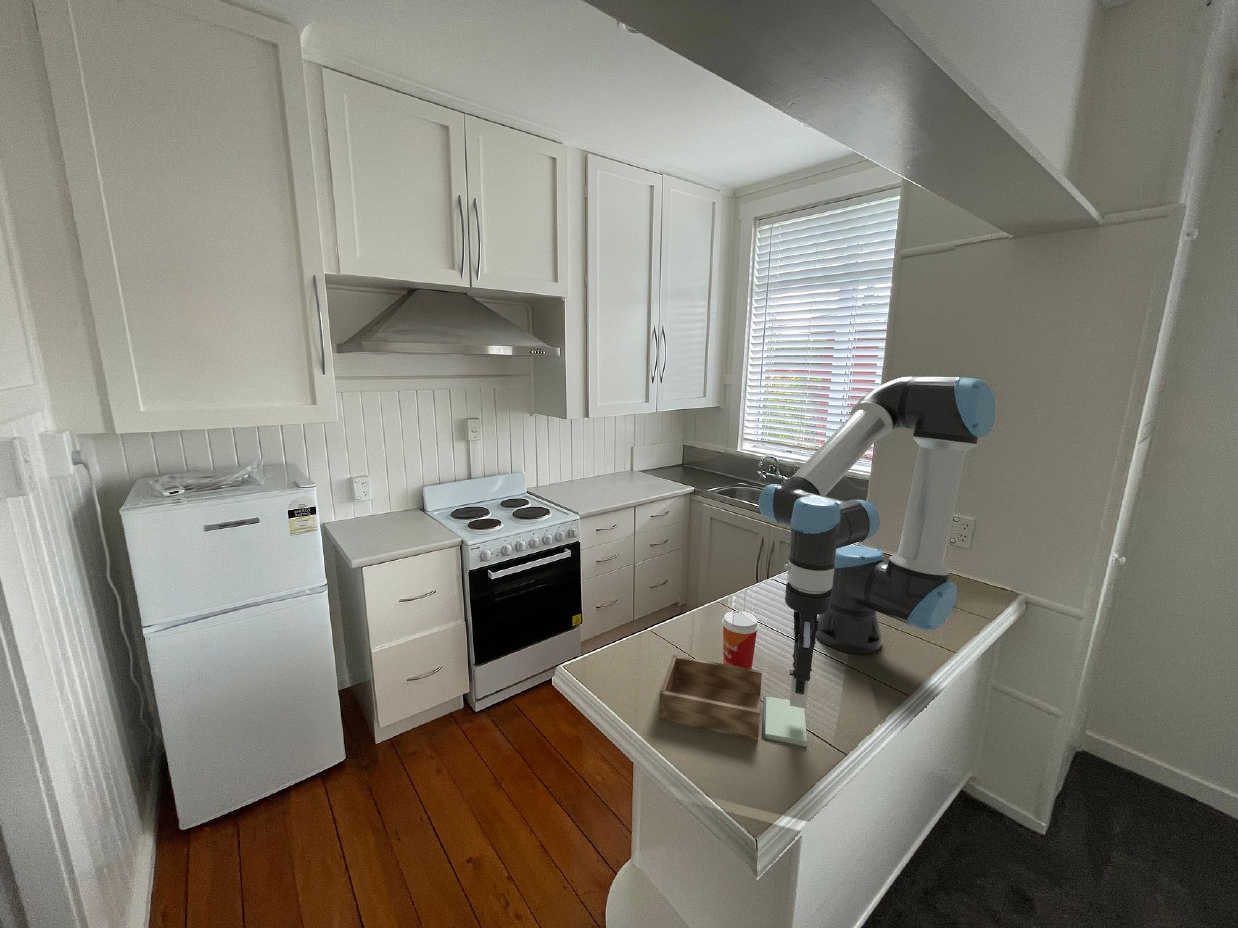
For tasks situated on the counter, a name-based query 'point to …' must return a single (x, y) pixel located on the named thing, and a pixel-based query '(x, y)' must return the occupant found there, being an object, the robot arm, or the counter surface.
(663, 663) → the counter surface
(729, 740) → the counter surface
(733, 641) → the paper cup
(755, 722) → the crate
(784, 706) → the book
